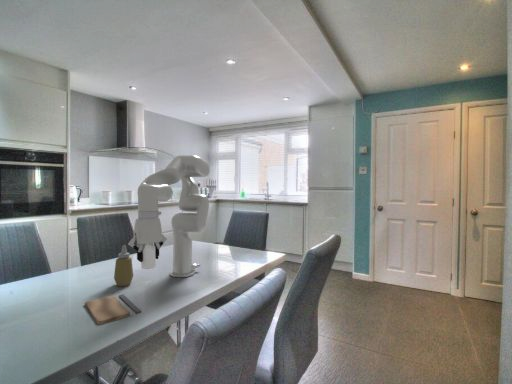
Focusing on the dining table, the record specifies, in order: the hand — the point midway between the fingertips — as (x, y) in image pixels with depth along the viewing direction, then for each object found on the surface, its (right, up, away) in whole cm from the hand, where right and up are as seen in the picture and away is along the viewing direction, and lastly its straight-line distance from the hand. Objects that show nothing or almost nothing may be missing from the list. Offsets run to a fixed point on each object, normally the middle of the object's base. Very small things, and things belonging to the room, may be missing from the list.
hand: (148, 259), depth 113 cm
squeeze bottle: (-17, -16, +16) cm, 28 cm away
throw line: (-6, -16, -5) cm, 18 cm away
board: (-11, -16, -10) cm, 22 cm away
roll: (0, -3, 0) cm, 3 cm away
